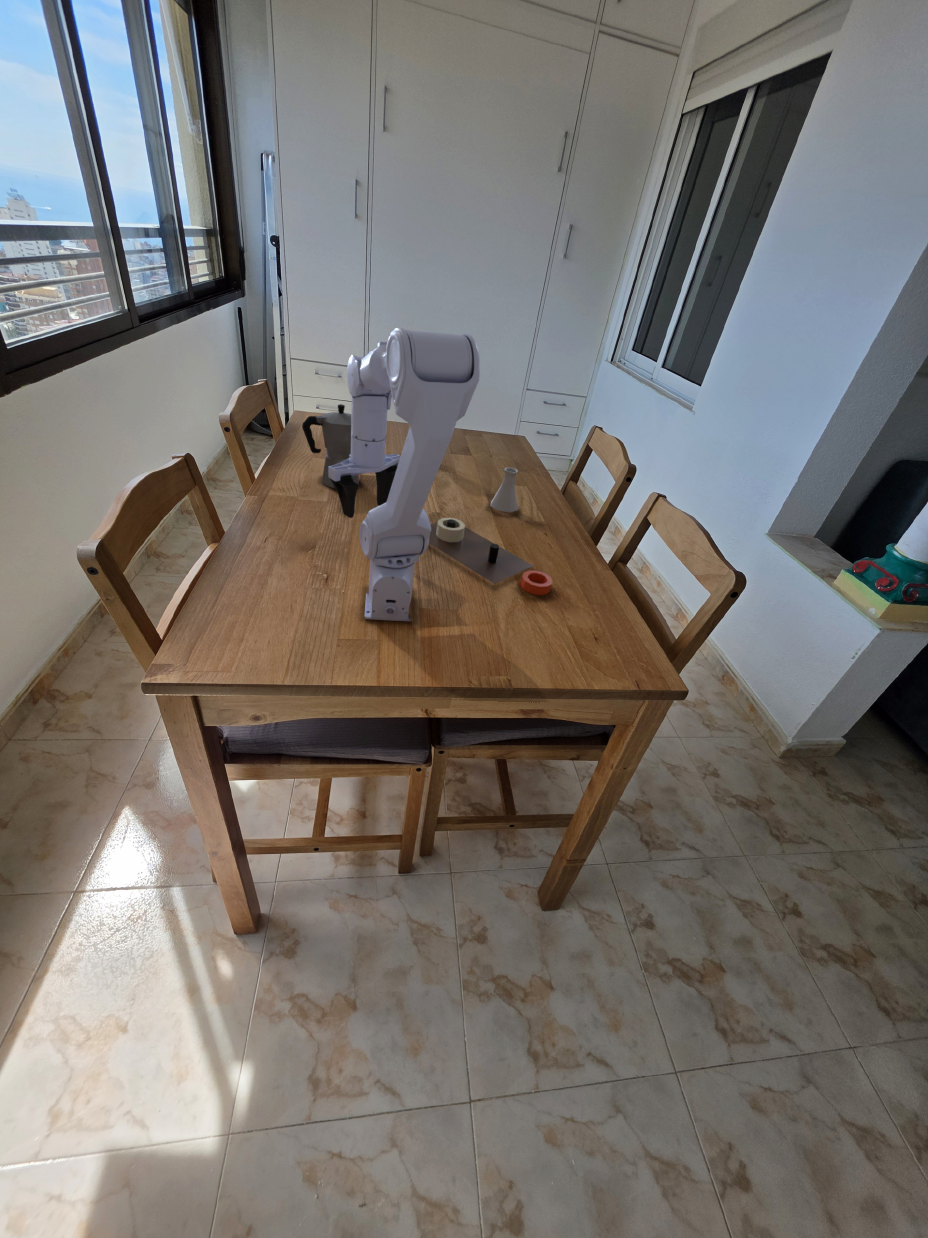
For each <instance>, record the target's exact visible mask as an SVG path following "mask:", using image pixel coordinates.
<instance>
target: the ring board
mask: <svg viewBox="0 0 928 1238" xmlns="http://www.w3.org/2000/svg"><path fill="white" fill-rule="evenodd" d="M437 523H438V521H436V522H434V523H430V525H431V532H430V536H429V545H431V546H432V547H435V548H436V549H437V550H439V551H441V552H442V553H443V554H445V555H447V556H448V557H450V558H452V559H454V560H455V561H457V562H458V563H460V564H462V565H463V566H465V567H467V568H468V569H469V570H471V571H473V572H475V573H476V574H478V575H479V576H481V577H483V578H484V579H486V580H487V581H489V582H491V583H492V584H494V585H495V584H498V583H500V582H502V581H504V580H506V579H508V578H511V577H513V576H515V575H517V574H519V573H522V572H525V571H527V570H528V569H530V568H532V567H534V565H533V564H531V563H530V562H528V561H526V560H524V559H523V558H520V557H519V556H517V555H515V554H513V553H512V552H510V551H509V550H507V549H505V548H503V547H501V546H500V545H499V544H498V543H494V542H492V541H491V540H489V539H487V538H486V537H484V536H482V535H480V534H478V533H476V532H475V531H474V530H471V529H469V528H467V527H466V526H465V530H464V537H463V539H462V540H461V541H459V542H446V541H443V540H441V539H439V538H438V537H437V535H436V531H437ZM455 526H456V521H455V520H452V519H449V520H448V521H447V527H449V528H455Z"/></svg>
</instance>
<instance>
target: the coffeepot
mask: <svg viewBox="0 0 928 1238" xmlns="http://www.w3.org/2000/svg"><path fill="white" fill-rule="evenodd" d="M345 407H346V405H344V404H337V409H338V411H332V412H325V413H321V415H309V416H307V417H306V418H305V420H304V421H303V422H302V424H301V428H302V432H303V433H304V435H305V436H304V437H305V438H306V441H307V444H308V447H309V450H310V452H311V453H312V454H320V453H321V452H322V449H321V448H317V447H316V442H315V439H314V437H313V431H312V429H311V426H312V425H313V426H320V427H321V429H322V430H321V431H322V435H323V443H324V448H325V458H324V465H323V472H322V479H321V483H322V484H323V485H324V486H326V487H328V488H331V489H335V487H334V485H333V483H332V481H331V480H330V478H329V477H328V466H332V465H336V464H338V463H340V462H342V461H345V460H347V459H349V458H350V454H351V414H352V413H350V412H345ZM359 476H360V475H355V476H352V479H353V482H355V483H357V484H358V485H359V486H360V477H359Z"/></svg>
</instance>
